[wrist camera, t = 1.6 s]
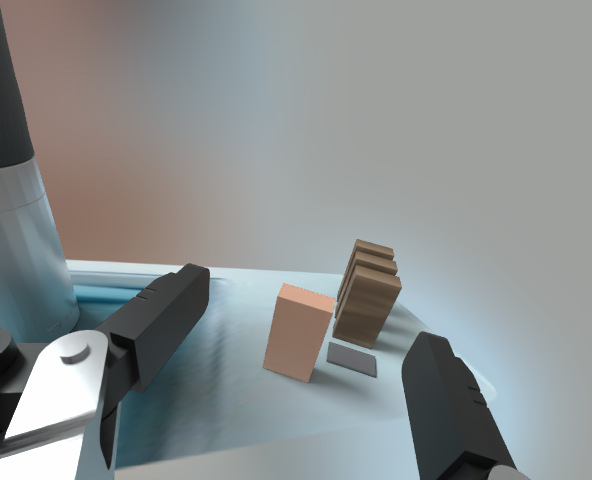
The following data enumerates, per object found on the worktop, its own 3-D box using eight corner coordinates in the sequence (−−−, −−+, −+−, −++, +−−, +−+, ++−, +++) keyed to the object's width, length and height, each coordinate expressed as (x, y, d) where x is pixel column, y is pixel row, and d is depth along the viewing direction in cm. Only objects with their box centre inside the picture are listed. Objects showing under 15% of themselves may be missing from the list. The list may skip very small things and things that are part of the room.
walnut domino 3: (370, 349, 32) (401, 287, 27) (332, 336, 33) (355, 274, 28) (370, 337, 34) (399, 277, 29) (333, 325, 34) (356, 264, 30)
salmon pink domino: (308, 382, 27) (333, 313, 22) (262, 367, 27) (277, 296, 22) (311, 366, 28) (334, 298, 24) (268, 352, 29) (283, 282, 24)
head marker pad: (375, 377, 29) (375, 375, 29) (326, 361, 29) (327, 359, 29) (373, 357, 31) (374, 356, 31) (328, 343, 32) (329, 341, 31)
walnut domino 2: (370, 328, 35) (397, 270, 30) (334, 317, 36) (356, 258, 31) (369, 318, 37) (395, 261, 32) (335, 308, 37) (356, 250, 33)
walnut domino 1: (369, 311, 38) (394, 255, 33) (336, 301, 39) (356, 245, 34) (368, 302, 40) (392, 248, 35) (337, 293, 40) (356, 238, 36)
